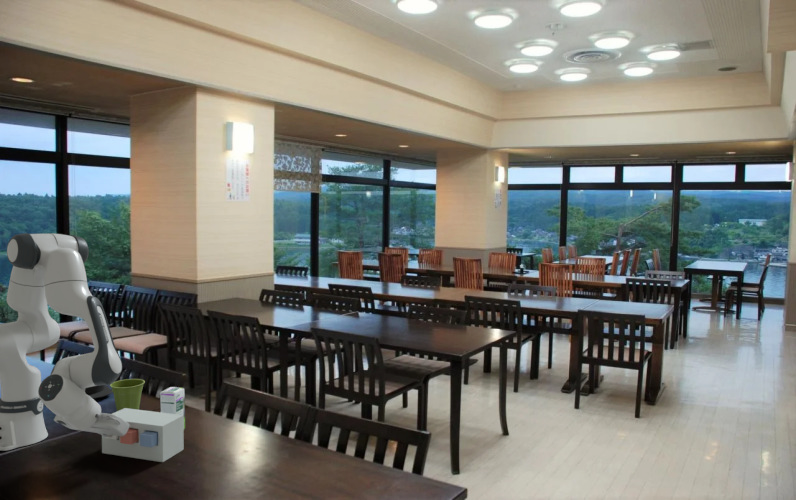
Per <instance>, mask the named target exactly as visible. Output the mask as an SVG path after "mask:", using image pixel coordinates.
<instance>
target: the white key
mask: <svg viewBox="0 0 796 500" xmlns="http://www.w3.org/2000/svg"><path fill="white" fill-rule="evenodd" d="M105 438H108V439H115V440H117V439H119V436H116V435H113V436H112V437H105Z"/></svg>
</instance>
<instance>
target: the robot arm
mask: <svg viewBox="0 0 796 500" xmlns="http://www.w3.org/2000/svg"><path fill="white" fill-rule="evenodd" d="M89 251H90V250H89V246H88V243H87V241H86V240H85V239H84V238H83V237H81V236H78V235H74V234H70V235H68V234H63V233H52V232H51V233H50V232H49V233H28V232H27V233H26V232H24V233H18V234H15V235H13V236H11V238H10V239H9V241H8V243H7V246H6V256H7V260H8V262H9V263H10V264H11V265H12V269H11V272H10V276H9V277H10V278H9V283H8V288H7V294H6V303H7V305H8V306H9V308H11V309H12V310H13V311H15V312H17V314H18V315H17V316H18V317H17V320H16V321H11V322H5V323H0V451H2V452H3V451H10V450H13V449H17V448H22V447H25V446H29V445H34V444H36V443H39V442H41V441H43V440H45V439H46V438H47V437H48V436H49V433H48V430H47V429H46V428H47V427H46V424H45V420H44V418H45V417H44V413H43V411H44V406H45V407H46V408H47V409H49V410H50V411H51V412H52V413H53V414H54V415H55V416H54V418H53V421H54V422H55V423H57V424H61V425H62V426H63V427H66V428H68V429H70V430H75V431H80V432H81V431H82V432H90V433H96V434H98V435H101V437H102V436H105V437H112V436H113V435H116V436H125V434H126V433H127V431H128V429H129V426H130V425H129V424H128V423H127V422H126V421H124V420H123V419H122V418H120V417H118V416H117V415H114V414H112V413H107V412H106V413H105V412H102V407H101V404H99V403H98V402H97V401H96V399H93V398H91V397H90V396H89V395H87V394H86V393H85V389H86V388H88V387H93V386H101V385H106V386H110V384H112V383H114V382H116V381H117V380H118V378H119V377H120V376H121V374H122V371H123V362H122V359H121V356H120V354H119V352H118V351H117V350H118V349H117V348H116V344H115V343H114V339H113V335H112V332H111V329H110V326H109V325H110V324H109V322H108V318H107V315H106V312H105V309H104V307H103V304H102V303H101V301H100V299H99V298H98V297H96V296H93V294H92V293H91V291H90V289H89V285H88V279H87V273H86V268H85V263H86V262H87V260H88V258H89ZM48 306H49V307H50V308H51V309H52V310H53V311H54V312H56V313H59V314H61V315H67V316H71V317H76V318H80V319H82V320H83V321H84V322H85V323H86V324H87V327H88V330H89V333H90V337H91V341H92V343H93V348H94V349H93V351H92V352H88V353H84V354H83V353H82V354H78V355H73V356H67V357H64V358H61V359H59V360H58V361H57V362H56V363H55V365H53V367H52V370H51V372H50V374H49V375H48V376H46V377H45V378H44V379H43V380H42V372H41V370H40V369H39V368H37V367H36V366H35V365H31V364H29V363H28V360H27V354H30V353H34V352H39V351H42V350H45V349H47V348H49V347H51V346H53V345H55V344H57V342H58V341H59V339H60V336H61V327H60V325H59V324H58V322H57V321H56V320H55V319H54V318H52V317H51V315H50V313H49V308H48Z"/></svg>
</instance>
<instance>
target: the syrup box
mask: <svg viewBox="0 0 796 500" xmlns="http://www.w3.org/2000/svg"><path fill="white" fill-rule="evenodd" d="M159 394H160V399H159V401H160V412H161V413H169V414H177V415H184V430H185V429H186V410H185V409H186V404H185V403H186V401H185V388H184V387H179V386H178V387H177V386H170V387H167V388H166V389H164V390H162V391H160V393H159Z"/></svg>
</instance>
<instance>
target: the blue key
mask: <svg viewBox="0 0 796 500" xmlns="http://www.w3.org/2000/svg"><path fill="white" fill-rule="evenodd" d="M157 444H158V432H152V431H145V432H143V433H142V434H140V446H145V447H153V446H155V445H157Z"/></svg>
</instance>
